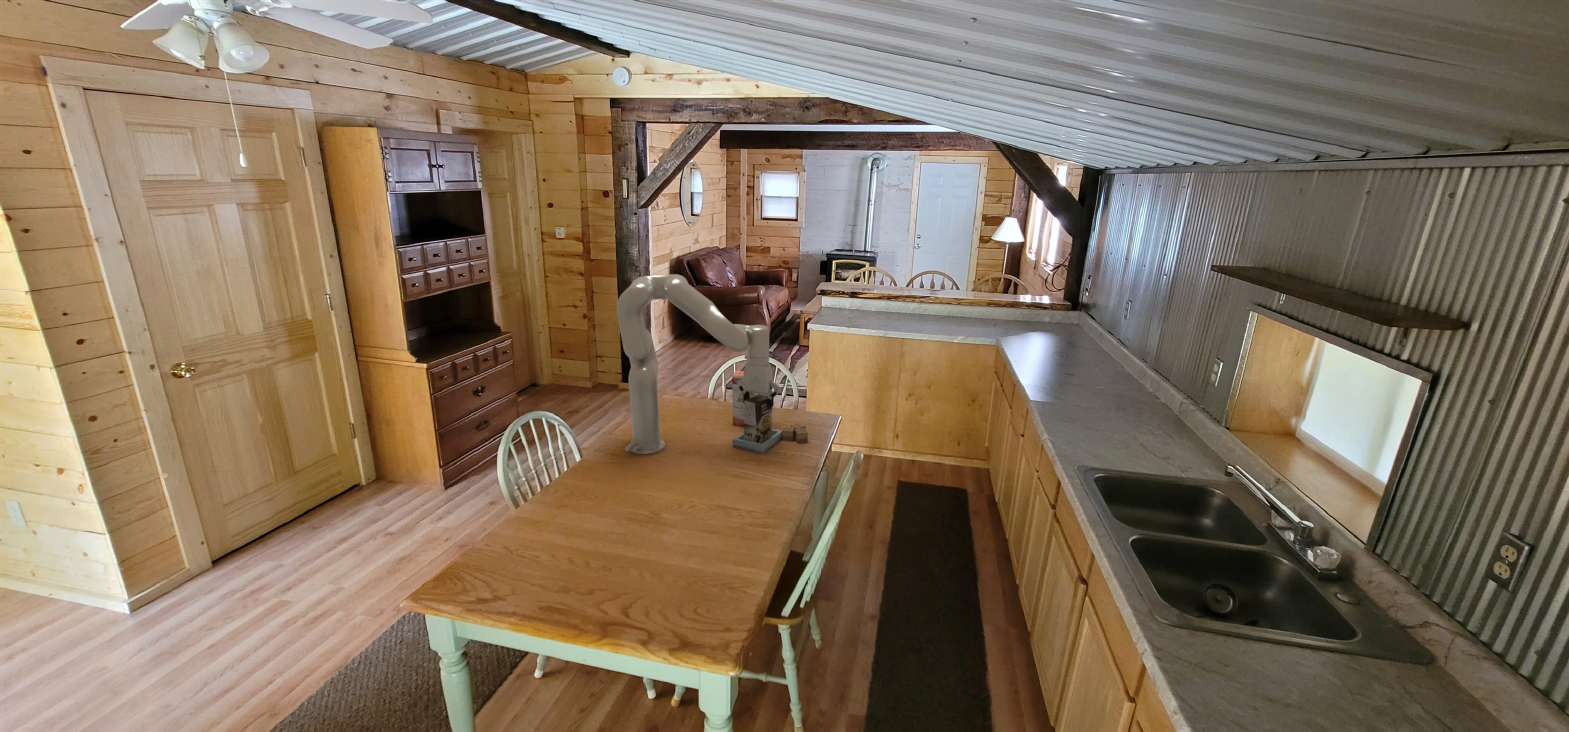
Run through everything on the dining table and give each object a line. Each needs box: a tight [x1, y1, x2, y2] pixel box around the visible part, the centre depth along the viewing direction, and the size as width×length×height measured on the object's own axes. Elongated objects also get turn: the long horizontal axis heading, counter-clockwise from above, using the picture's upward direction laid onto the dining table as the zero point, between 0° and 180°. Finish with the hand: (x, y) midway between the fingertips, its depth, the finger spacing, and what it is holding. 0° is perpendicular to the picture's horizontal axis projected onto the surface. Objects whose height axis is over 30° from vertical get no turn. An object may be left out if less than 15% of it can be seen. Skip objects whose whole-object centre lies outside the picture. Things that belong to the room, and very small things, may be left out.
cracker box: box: [731, 370, 767, 427], centre depth 250 cm, size 14×6×21 cm, turn 78°
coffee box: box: [743, 394, 773, 444], centre depth 234 cm, size 9×6×16 cm
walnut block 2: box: [790, 422, 807, 430], centre depth 243 cm, size 4×4×4 cm
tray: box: [732, 428, 783, 455], centre depth 236 cm, size 15×12×3 cm
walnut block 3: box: [794, 428, 809, 444], centre depth 238 cm, size 4×4×4 cm
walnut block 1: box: [781, 426, 795, 442], centre depth 240 cm, size 4×4×4 cm
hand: (758, 406), depth 232 cm, fingers open, 9 cm apart
